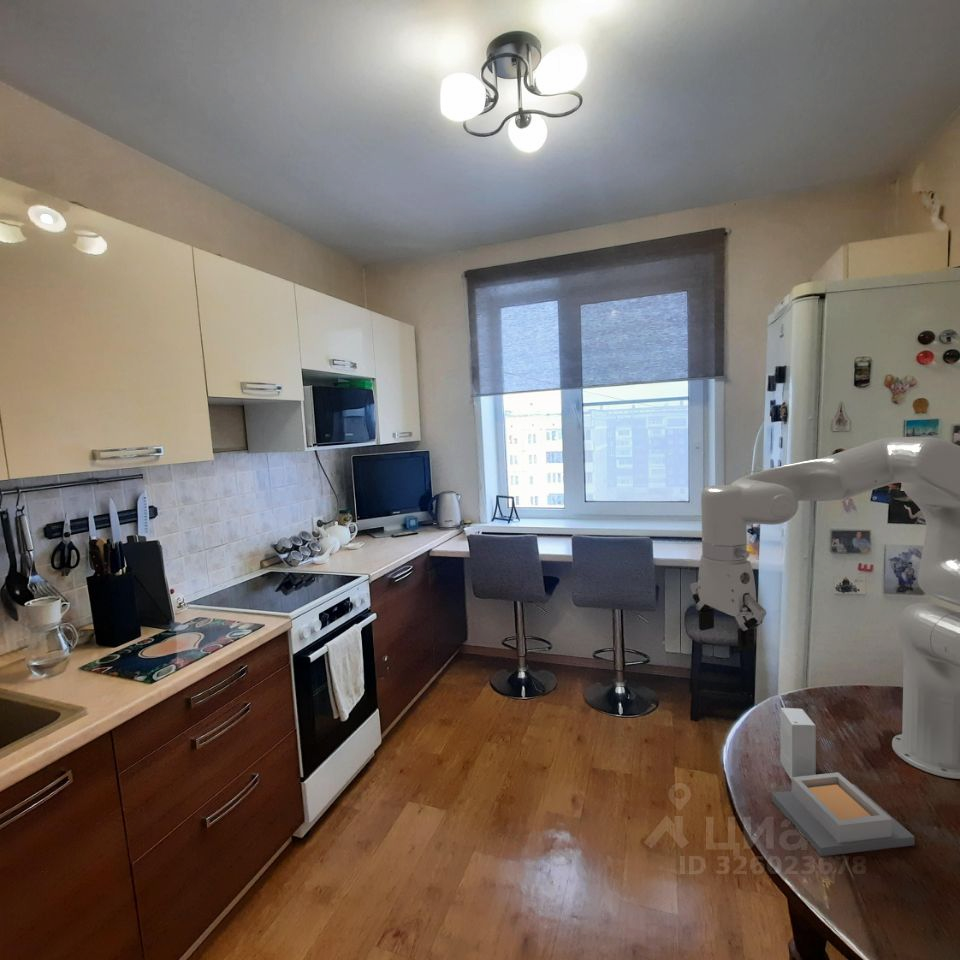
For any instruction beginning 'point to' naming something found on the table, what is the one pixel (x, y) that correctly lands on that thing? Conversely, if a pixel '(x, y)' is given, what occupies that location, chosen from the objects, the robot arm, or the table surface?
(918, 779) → the table surface
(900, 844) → the panel
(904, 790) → the table surface
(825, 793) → the button
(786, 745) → the skincare box
